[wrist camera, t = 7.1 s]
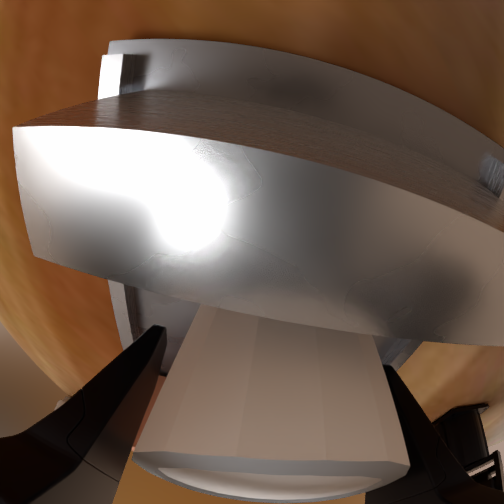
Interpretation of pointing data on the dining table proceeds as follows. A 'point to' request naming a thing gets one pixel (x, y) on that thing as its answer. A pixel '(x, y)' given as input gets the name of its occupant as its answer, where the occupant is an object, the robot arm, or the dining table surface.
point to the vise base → (269, 198)
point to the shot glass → (273, 413)
